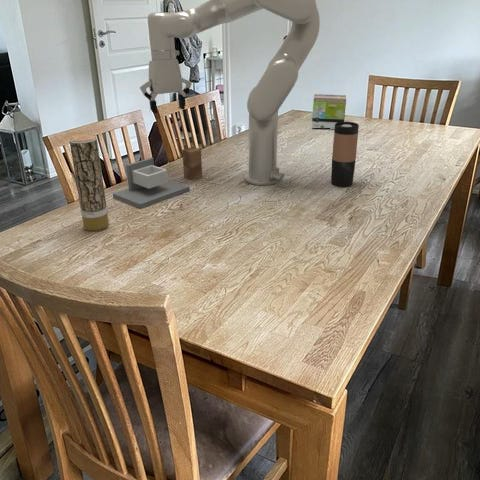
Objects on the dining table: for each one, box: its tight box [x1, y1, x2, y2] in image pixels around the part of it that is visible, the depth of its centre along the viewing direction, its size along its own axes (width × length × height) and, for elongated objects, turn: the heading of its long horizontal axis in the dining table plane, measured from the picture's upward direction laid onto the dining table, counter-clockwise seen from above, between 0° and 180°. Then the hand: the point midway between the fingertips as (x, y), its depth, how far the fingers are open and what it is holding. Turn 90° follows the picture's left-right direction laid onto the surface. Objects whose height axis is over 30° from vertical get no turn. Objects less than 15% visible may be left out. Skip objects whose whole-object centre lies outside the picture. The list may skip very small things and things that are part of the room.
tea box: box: [311, 93, 347, 130], centre depth 233 cm, size 15×10×15 cm, turn 80°
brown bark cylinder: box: [68, 133, 110, 232], centre depth 131 cm, size 7×7×25 cm
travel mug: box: [330, 121, 360, 188], centre depth 161 cm, size 8×8×20 cm
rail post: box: [181, 146, 203, 181], centre depth 171 cm, size 4×4×10 cm
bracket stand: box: [112, 157, 191, 210], centre depth 157 cm, size 14×20×10 cm
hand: (168, 110), depth 162 cm, fingers open, 9 cm apart
